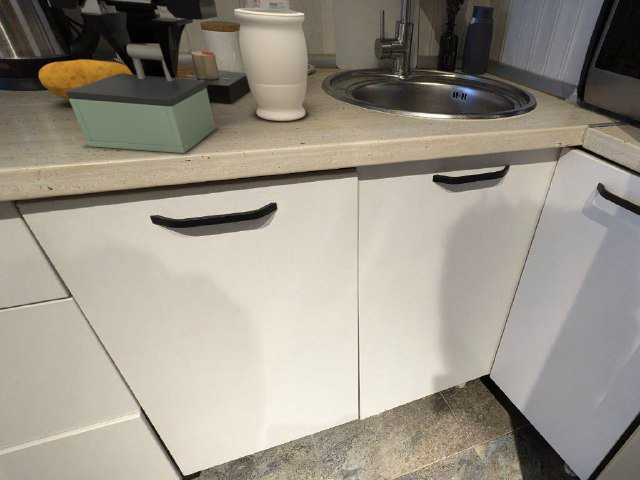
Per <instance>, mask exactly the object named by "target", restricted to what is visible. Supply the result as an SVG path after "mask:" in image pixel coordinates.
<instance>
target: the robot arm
mask: <svg viewBox="0 0 640 480" xmlns="http://www.w3.org/2000/svg"><path fill="white" fill-rule="evenodd" d="M46 1H47V3H48V6H49V7H50V8H54V9H55V8H57V9H66V10H76V9H77V7H78V6H79V7H80V10H81V12H77V14H78V16H79V18H80V19H84V20H87V21H88V22H89V23H90V25H91V26H92V27H93V28H94V29H95V30H96V31H97V32H98V33H99V34H100V35H101V36H102V38H103V39H104V40H105V41H106V42H107V43H108V44H109V46H110V47H111V48H112V50H113V51H114V53H116V55H117V56H118V57H119V58H120V59H121V61H122V62H123V63H124V65H125V66H127V67H128V68H129V70H130V71H131V72H132V74H133V75H137V72H136V69H135V66H134V63H133V59H132V58H131V57H130V56H129V55H128V53H127V49H126V47H127V45H128V44H133V45H145V46H157V47H160V49H161V52H162V55H163V58H164V61H165V65H166V67H167V70H168V72H169V74H170V77H171V78H177V77H178V68H179V56H180V47H181V40H182V36H183V33H184V32H183V31H185V28H186V26H187V25H190V24H193V22H194V20H197V21H198V20H199V21H202V20H208V19H212V18H213V19H214V18H217V17H218V12H217V7H216V1H215V0H46ZM156 11H157V12H158V13H156ZM140 61H141V65H142V68H143V71H144V75H145V76H154V77H166V75H165V71H164V67H163V63H162V60H151V59H140Z"/></svg>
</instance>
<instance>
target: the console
mask: <svg viewBox="0 0 640 480" xmlns="http://www.w3.org/2000/svg"><path fill="white" fill-rule="evenodd" d="M218 73H219V78H218V79H213V80H204V81H207V85H208V87H206V88H207V93H208V97H209V102H210V103H220V104H233V103H234V102H236V101H237V100H238V99H240V98H241V97H242V96H244V95H245V94H247V93H248V92H251V90H250V87H249V83H248V79H247V76H246V73H245V72H234V71H222V70H221V71H220V70H218ZM184 79H191V80H203V79H198V78H197V77H196V73H194V74H192V75H191V74H186V75H185V78H184Z"/></svg>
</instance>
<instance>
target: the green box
mask: <svg viewBox="0 0 640 480" xmlns="http://www.w3.org/2000/svg"><path fill="white" fill-rule="evenodd" d="M68 101H69V103H70V105H71V108H72V110H73V112H74V115H75V118H76V119H77V122H78V124H79V126H80V129H81V131H82V134H83V136H84V139H85V140H86V141H85V142H86V143H87V145H88V147H93V148H107V149H109V148H110V149H120V150H121V149H122V150H133V151H134V150H136V151H147V152H161V153H175V154H176V153H177V154H186V153H187V152H188V151H189V150H191V149H192V148H193V147H195V146H196V145H197V144H198V143H200V142H201V141H202V140H204V139H205V138H206V137H208V136H209V135H210V134H211V133H213V132H214V131H215V130H216V126H215V122H214V116H213V112H212V107H211V102H209V97H208V93H207V88H204V89H202V90H200V91H199V92H197V93H195V94H193V95H191V96H189V97H187V98H186V99H184V100H182V101H180V102H178V103H176V104H174V105H173V106H163V105H150V104H137V103H125V102H112V101H99V100H86V99H73V98H70V99H69V100H68Z"/></svg>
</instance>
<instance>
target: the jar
mask: <svg viewBox="0 0 640 480" xmlns="http://www.w3.org/2000/svg"><path fill="white" fill-rule="evenodd" d="M234 17H235V18H236V19H237V20H239V32H238V36H239V37H238V38H239V51H240V58H241V62H242V67H243V70H244V73H246V76H247V79H248V83H249V87H250V92H251V95H252V97H253V99H254V100H255V102H256V103H257V105H258V106H257V108H256V115H257V116H258V117H259V118H260V119H261V118H262V119H264V120H268V121H273V122H274V121H276V122H287V121H289V122H290V121H296V120H300V119H301V118H303V117H305V116H306V110H305V108H304V107H303V103H304V101H305V98H306V95H307V84H308V82H307V79H308V71H309V59H308V48H307V42H306V37H305V32H304V30H303V27H302V26H303V23H305V19H306V17H305V13H304V12H299V11H296V10H291V11H290V10H281V9H269V8H255V7H240V8H235V9H234Z"/></svg>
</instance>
